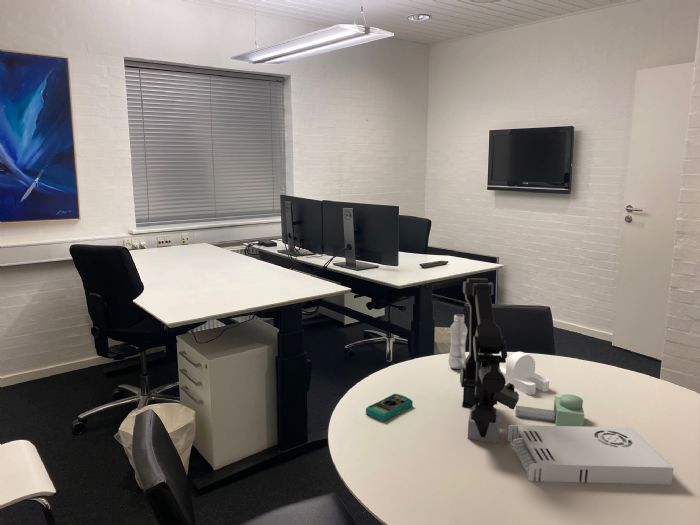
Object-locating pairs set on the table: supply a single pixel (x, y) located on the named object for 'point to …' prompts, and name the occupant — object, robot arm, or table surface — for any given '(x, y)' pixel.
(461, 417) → the table surface
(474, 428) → the chute
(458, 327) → the plastic bottle
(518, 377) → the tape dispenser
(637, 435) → the power supply unit
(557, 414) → the green domed block
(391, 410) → the digital multimeter
